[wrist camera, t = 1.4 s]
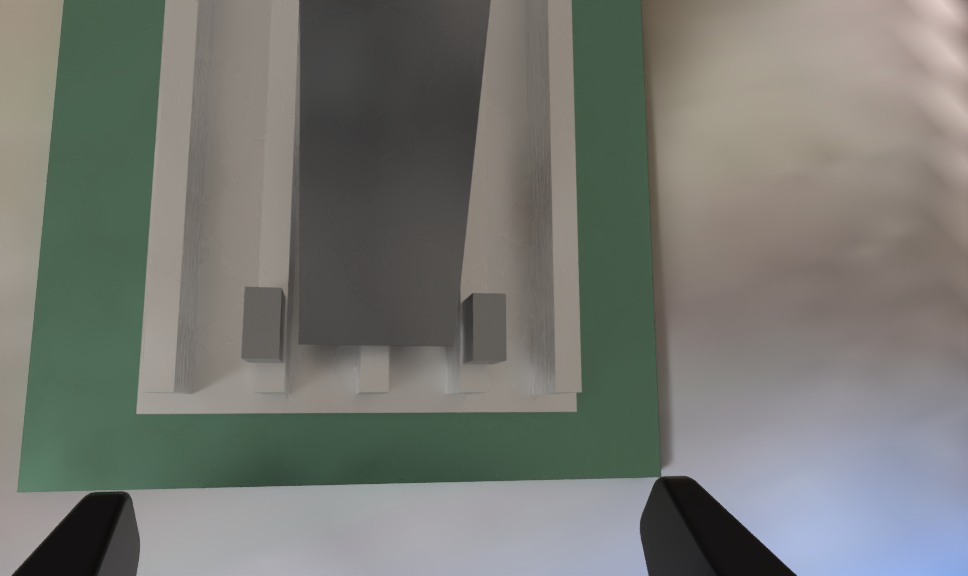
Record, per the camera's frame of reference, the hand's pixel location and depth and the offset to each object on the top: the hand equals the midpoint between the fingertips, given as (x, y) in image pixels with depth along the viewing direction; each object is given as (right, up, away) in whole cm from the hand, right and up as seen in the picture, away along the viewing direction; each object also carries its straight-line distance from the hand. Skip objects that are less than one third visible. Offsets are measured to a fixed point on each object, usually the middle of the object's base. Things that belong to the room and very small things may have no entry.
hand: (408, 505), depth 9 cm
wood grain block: (-1, +7, +7) cm, 10 cm away
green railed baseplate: (-3, +7, +15) cm, 16 cm away
